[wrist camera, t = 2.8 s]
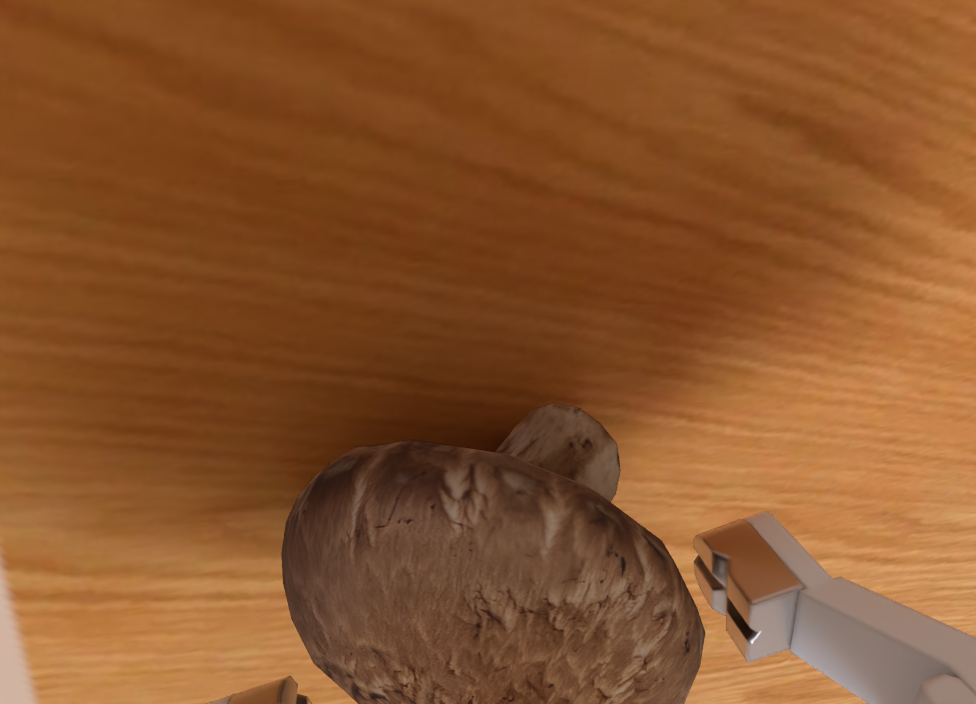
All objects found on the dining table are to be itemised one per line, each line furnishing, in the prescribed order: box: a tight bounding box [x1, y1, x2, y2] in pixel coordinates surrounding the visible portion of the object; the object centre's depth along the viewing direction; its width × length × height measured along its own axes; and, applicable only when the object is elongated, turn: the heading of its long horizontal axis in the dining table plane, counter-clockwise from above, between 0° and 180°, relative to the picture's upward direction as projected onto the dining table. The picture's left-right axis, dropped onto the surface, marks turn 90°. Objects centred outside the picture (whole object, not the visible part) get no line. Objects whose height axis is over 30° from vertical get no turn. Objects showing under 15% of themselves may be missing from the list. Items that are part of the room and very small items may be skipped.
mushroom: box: [282, 403, 705, 704], centre depth 11 cm, size 8×8×6 cm
